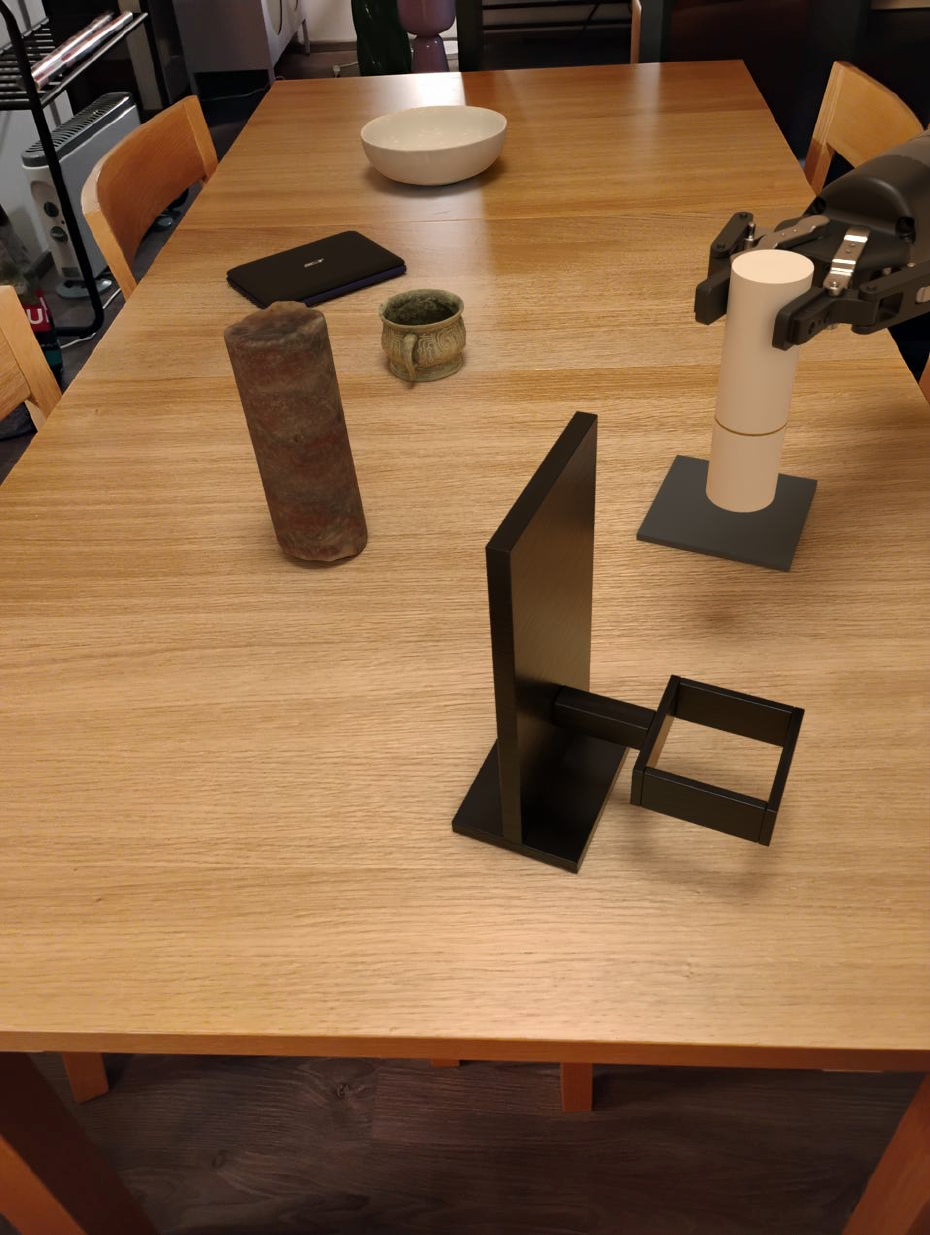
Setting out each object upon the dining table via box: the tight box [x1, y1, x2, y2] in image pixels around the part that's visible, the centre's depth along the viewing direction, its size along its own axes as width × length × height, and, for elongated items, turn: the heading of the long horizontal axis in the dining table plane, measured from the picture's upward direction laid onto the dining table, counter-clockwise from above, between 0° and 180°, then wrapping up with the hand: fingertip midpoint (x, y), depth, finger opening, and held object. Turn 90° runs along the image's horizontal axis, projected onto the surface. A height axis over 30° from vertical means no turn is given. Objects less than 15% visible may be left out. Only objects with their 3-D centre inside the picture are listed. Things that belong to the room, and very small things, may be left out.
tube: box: [706, 250, 814, 512], centre depth 59 cm, size 4×4×15 cm
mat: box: [635, 454, 818, 573], centre depth 81 cm, size 12×12×1 cm
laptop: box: [225, 230, 407, 310], centre depth 120 cm, size 16×20×2 cm
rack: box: [451, 410, 806, 874], centre depth 53 cm, size 18×12×23 cm
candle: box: [223, 301, 368, 562], centre depth 75 cm, size 8×7×20 cm
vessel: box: [378, 288, 467, 383], centre depth 101 cm, size 12×9×6 cm
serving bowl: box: [359, 104, 508, 187], centre depth 142 cm, size 21×21×7 cm
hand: (740, 319), depth 54 cm, fingers closed on tube, 4 cm apart
